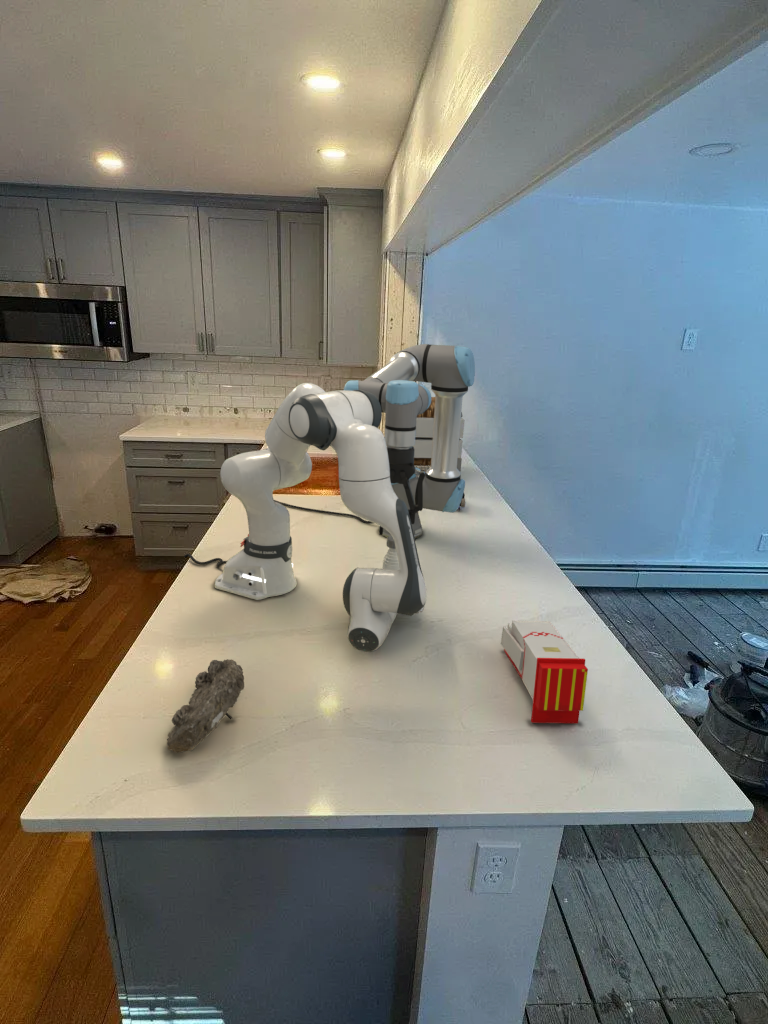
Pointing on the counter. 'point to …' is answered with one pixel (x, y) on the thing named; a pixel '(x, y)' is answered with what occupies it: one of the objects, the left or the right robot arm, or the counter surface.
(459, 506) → the figurine character
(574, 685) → the toy
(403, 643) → the counter surface
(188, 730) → the fossil
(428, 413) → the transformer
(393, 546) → the cap
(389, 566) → the bottle
